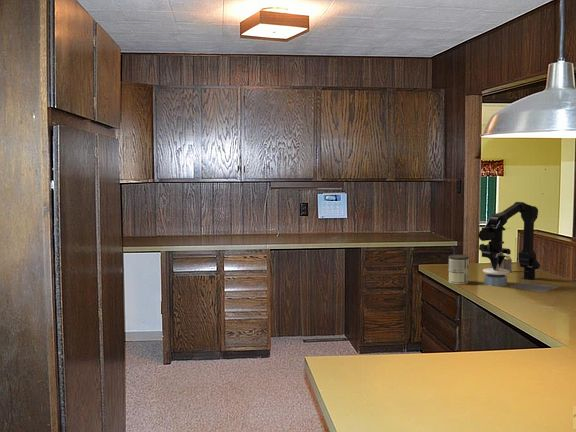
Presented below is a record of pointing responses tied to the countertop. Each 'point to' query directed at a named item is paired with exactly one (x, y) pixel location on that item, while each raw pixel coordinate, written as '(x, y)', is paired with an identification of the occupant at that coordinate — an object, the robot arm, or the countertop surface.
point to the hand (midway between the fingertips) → (496, 269)
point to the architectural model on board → (505, 264)
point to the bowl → (495, 280)
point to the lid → (496, 271)
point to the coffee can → (458, 269)
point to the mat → (534, 287)
